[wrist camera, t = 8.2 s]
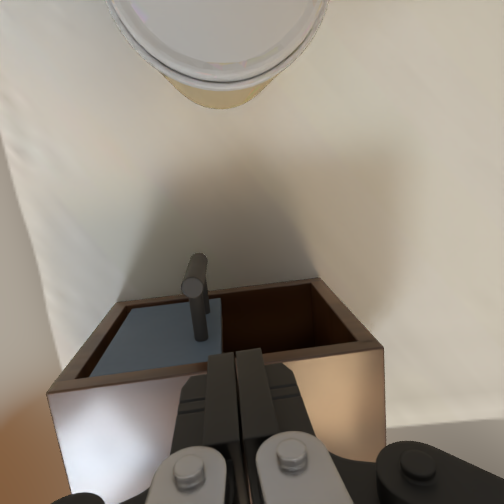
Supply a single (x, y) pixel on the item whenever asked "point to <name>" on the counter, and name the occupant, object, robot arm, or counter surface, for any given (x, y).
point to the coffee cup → (219, 42)
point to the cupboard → (174, 377)
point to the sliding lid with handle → (168, 330)
